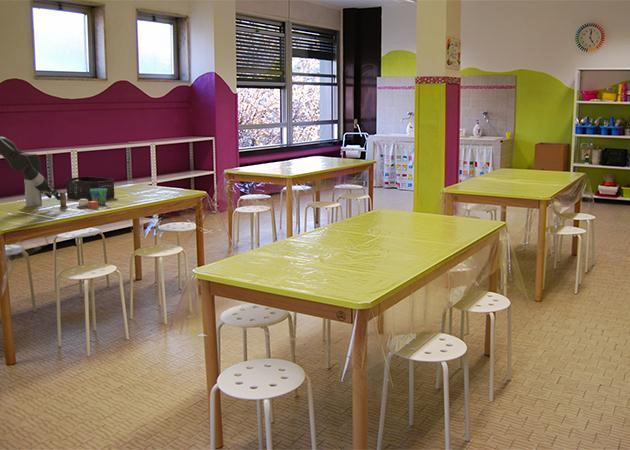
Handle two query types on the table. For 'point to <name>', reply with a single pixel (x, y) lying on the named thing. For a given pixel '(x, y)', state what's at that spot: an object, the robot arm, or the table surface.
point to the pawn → (63, 200)
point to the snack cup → (99, 195)
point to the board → (90, 205)
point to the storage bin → (88, 187)
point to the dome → (83, 202)
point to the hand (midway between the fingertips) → (55, 198)
